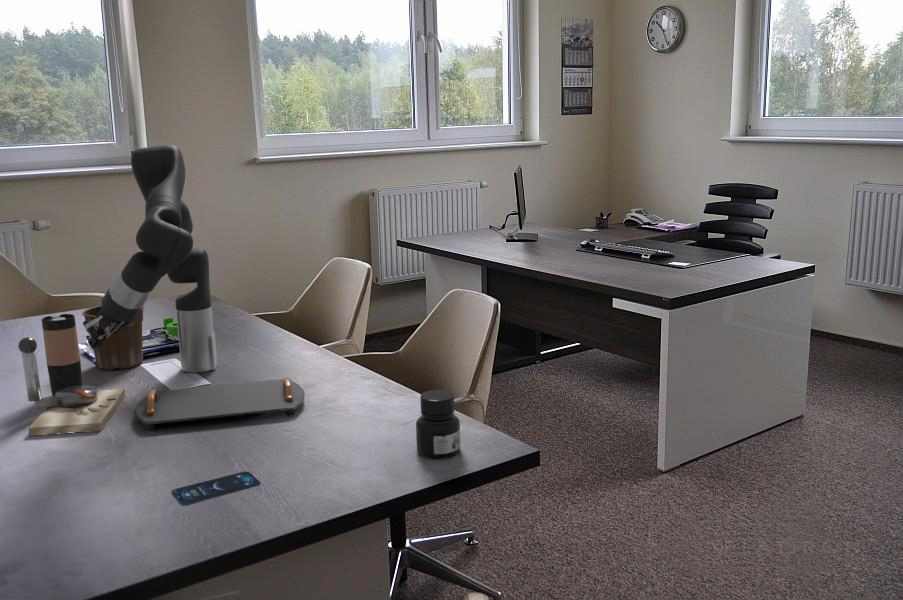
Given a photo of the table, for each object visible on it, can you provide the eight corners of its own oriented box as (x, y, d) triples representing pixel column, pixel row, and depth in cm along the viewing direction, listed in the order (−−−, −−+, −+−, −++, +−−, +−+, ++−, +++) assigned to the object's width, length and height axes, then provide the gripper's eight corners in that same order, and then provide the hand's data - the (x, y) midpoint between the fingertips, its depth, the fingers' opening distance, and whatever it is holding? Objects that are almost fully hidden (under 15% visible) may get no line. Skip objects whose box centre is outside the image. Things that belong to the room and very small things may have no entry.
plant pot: (75, 369, 233) (68, 313, 230) (118, 354, 248) (112, 300, 244) (121, 375, 227) (114, 317, 224) (162, 359, 242) (156, 304, 238)
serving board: (130, 437, 184) (127, 410, 183) (141, 403, 206) (139, 379, 205) (309, 418, 193) (307, 392, 192) (301, 387, 215) (299, 364, 214)
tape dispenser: (193, 339, 264) (191, 325, 263) (169, 342, 261) (167, 328, 260) (185, 329, 277) (184, 315, 276) (163, 331, 274) (161, 318, 273)
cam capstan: (112, 403, 198) (104, 332, 194) (45, 421, 187) (35, 346, 183) (87, 392, 206) (79, 324, 203) (22, 409, 196) (12, 337, 192)
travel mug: (71, 400, 208) (61, 321, 204) (44, 398, 209) (34, 320, 205) (90, 390, 215) (81, 314, 211) (64, 388, 217) (54, 313, 212)
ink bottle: (444, 463, 165) (442, 406, 163) (407, 455, 170) (405, 398, 167) (469, 447, 173) (468, 391, 171) (433, 439, 178) (432, 385, 175)
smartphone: (262, 484, 158) (182, 505, 150) (262, 486, 158) (182, 508, 150) (247, 470, 164) (169, 489, 156) (247, 473, 164) (170, 492, 156)
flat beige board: (125, 396, 210) (124, 387, 209) (101, 431, 186) (99, 421, 186) (61, 400, 208) (60, 391, 207) (29, 436, 184) (28, 426, 184)
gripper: (142, 275, 180) (107, 325, 188) (91, 286, 168) (56, 339, 176) (163, 301, 179) (127, 350, 187) (113, 314, 167) (77, 367, 175)
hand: (93, 345), depth 181 cm, fingers closed
